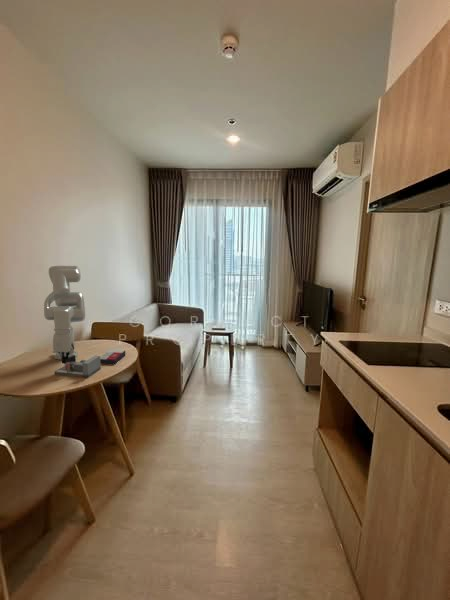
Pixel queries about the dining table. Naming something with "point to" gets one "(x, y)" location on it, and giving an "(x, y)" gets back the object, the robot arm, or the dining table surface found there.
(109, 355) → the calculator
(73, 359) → the plunger
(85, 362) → the gauge housing
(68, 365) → the drag pointer
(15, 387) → the dining table surface
